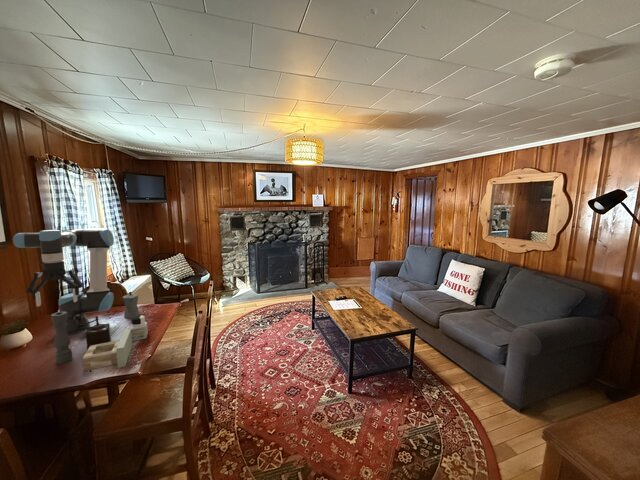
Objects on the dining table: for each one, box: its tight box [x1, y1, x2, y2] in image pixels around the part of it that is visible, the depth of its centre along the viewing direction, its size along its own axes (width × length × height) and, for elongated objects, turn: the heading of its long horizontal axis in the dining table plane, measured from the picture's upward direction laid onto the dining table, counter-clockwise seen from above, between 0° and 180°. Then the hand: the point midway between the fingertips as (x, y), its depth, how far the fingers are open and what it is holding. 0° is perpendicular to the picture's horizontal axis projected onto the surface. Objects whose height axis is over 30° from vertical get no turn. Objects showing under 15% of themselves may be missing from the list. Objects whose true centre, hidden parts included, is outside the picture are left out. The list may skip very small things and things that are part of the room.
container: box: [129, 314, 149, 342], centre depth 161 cm, size 8×8×13 cm
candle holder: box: [50, 311, 73, 365], centre depth 135 cm, size 6×6×25 cm
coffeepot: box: [122, 291, 141, 319], centre depth 192 cm, size 15×9×18 cm, turn 44°
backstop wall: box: [116, 328, 133, 369], centre depth 141 cm, size 22×3×10 cm, turn 28°
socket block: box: [81, 339, 120, 372], centre depth 137 cm, size 14×14×6 cm
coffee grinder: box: [74, 315, 112, 351], centre depth 151 cm, size 16×11×18 cm
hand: (57, 303), depth 133 cm, fingers open, 13 cm apart
